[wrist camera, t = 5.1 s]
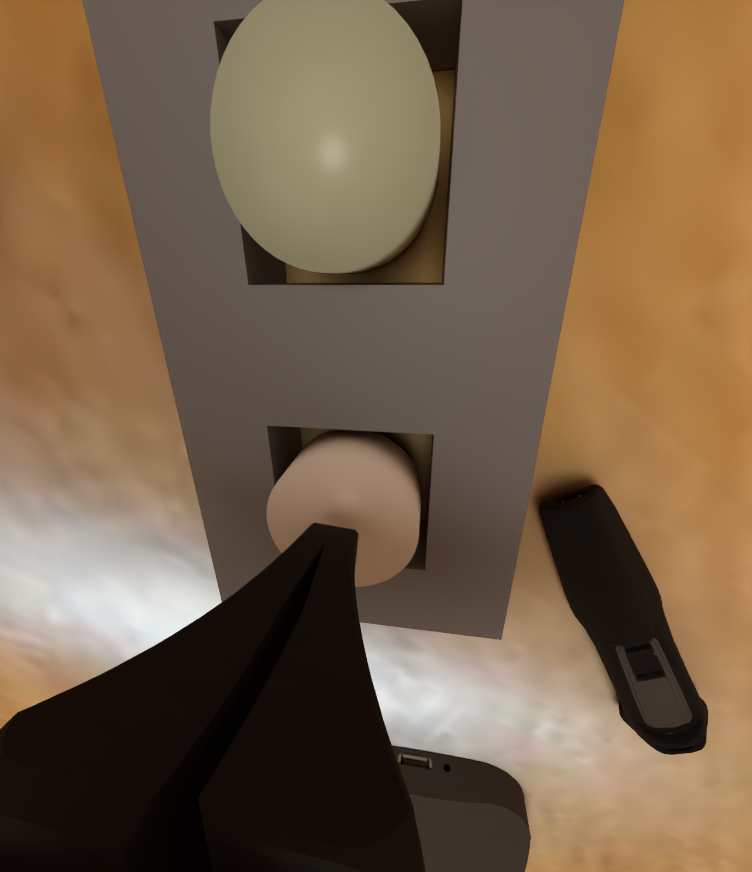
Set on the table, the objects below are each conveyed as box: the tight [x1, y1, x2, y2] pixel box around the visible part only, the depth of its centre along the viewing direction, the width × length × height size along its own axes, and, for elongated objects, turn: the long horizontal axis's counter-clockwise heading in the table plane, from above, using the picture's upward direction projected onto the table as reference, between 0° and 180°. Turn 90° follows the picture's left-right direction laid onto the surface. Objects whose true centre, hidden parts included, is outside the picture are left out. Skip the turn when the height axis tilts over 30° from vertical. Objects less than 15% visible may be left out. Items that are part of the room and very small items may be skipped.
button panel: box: [82, 0, 624, 640], centre depth 11 cm, size 12×32×3 cm, turn 0°
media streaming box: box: [392, 746, 531, 872], centre depth 26 cm, size 15×15×3 cm
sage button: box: [210, 0, 440, 274], centre depth 9 cm, size 5×5×2 cm
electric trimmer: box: [539, 484, 708, 755], centre depth 16 cm, size 4×16×3 cm, turn 29°
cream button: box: [266, 429, 421, 587], centre depth 13 cm, size 5×5×2 cm
